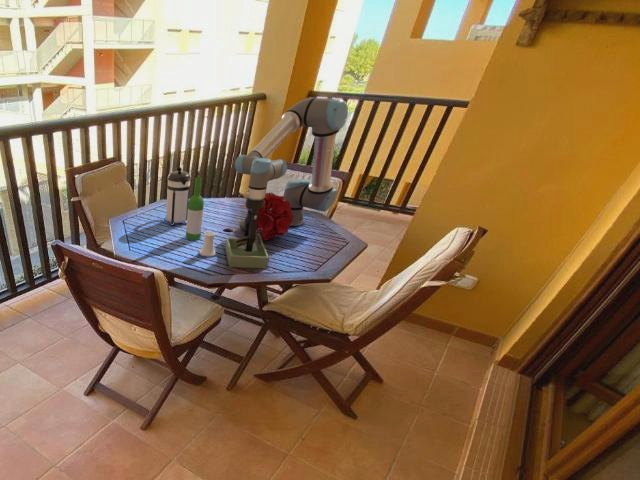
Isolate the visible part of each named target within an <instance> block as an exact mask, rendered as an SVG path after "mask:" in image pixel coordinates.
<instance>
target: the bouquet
mask: <svg viewBox="0 0 640 480" xmlns="http://www.w3.org/2000/svg"><path fill="white" fill-rule="evenodd" d="M269 193H270V192H266V195H265V198H264V205H263V208H261V209H258V210H257V212H258V216H259V218H258V222H257V229H256V231H258V229H259V230H261V231H260V236H261V238H262V242H264V241H269V240H271V239H272V238H275V237H279V236H281V237H283V236H285V235H286V233H288V232H289V228H291V227H290V225H291V223H292V220H293V218H292V217H294V215H292V212H291V207H290V203H289V201H287V200H285V201H283V200H284V199H285V197H283V196H284V195H277V194H275V195H273V194H274V193H273V194H269ZM245 207H246V206H245ZM246 209H247V210H248V208H247V207H246ZM245 222H246V217H245V218H244V219H242V220H240V221H239V224H238V226H239V228H240V230H243V231H245Z"/></svg>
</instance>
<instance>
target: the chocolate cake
mask: <svg viewBox="0 0 640 480" xmlns="http://www.w3.org/2000/svg"><path fill="white" fill-rule="evenodd" d="M247 237H248V236H246V237H244V236H243V237H237V238H238V239H236V243H237V244H238V245H237V248H240V249H243V250H244V251H245V250H246V244H247V239H248V238H247ZM262 242H263V240H262V238H261V232H256V238H255V239H254V242H253V247H252V252H254V251H257V249H258V246H260V245H261V244H262Z"/></svg>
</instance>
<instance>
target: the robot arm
mask: <svg viewBox="0 0 640 480" xmlns="http://www.w3.org/2000/svg"><path fill="white" fill-rule="evenodd" d="M348 114H349V107H348V104H347V102H346V101H345V100H344V99H340V98H337V97H336V98H335V97H333V98H328V97H327V98H325V97H308V98H304V99H302V100H300V101H298V102H296V103H295V104H293V105H292V106H291V107H289V109H287V110H286V111H285V112H284V113H283V114H282V115H281V117H280V120H279V121H278V123H276V124H275V125H274V127H273V128H272V129H271V130H269V132H268V133H267V134H266V135H265V136H264V137H263V138H262V139H261V140H260V141H259V142H258V143H257V144H256V145H255V146H254V148H252V149H251V151H249V153H247V154H240V155H238V157H237V158H236V160H235V162H234V168H235V171H236V172H237V173H240V174H243V175H248V176H249V181H248V185H247V186H248V187H247V188H248V189H246V191H245V192H246V193H247V194H246V198H245V205H244V206H245V207H247V208H248V209H247V208H246V209H247V213H246V217H245V218H246V222H245V230H244V233H243V237H246V236H248V237H247V238H248V239H247V244H246V250H245V251H246V252H252V247H253V242H254V239H255V238H256V234H257V230H258V229H257V222H258V218H259V216H258V212H257V210H258V209H261V208H263V205H264V198H265V195H266V193H267V189H268V183H269V182H270V181H273V180H278V179H280V178H282V177H284V176H285V175H286V173H287V170H288V164H287V162H286V161H285V160H284V159H281V158H279V159H278V158H276V159H270V158H269V157H270V156H271V154H273V153H274V152H275V151H276V150H277V148H278V147H279V146H280V145H281V144H282V143H283V142H284V141H285V140H286V139H287V138H288V137H289V136H290V135H291V134H293V132H296V131H298V130H299V128H302V127H305V128H311V135H312V136H313V137H314V143H313V146H314V147H313V158H312V173H311V181H310V179H308V178H295V179H290V180H288V181H287V182H286V184H285V187H284V191H283V195H282V196H283V197H285V199H284V200H283V201H285V200H287V201H289V203H290V207H291V212H292V215H294V217H292V218H293V220H292V223H291V225H290V227H289V228H291V227H293V228H294V227H300V226H303V224H304V208H307V209H310V210H315V211H317V212H318V211H319V212H326V211H329V209H330V208H332V206H333V204H334V203H335V201H336V198H337V196H338V190H337V188H334V183H333V181H332V180H331V178H332V169H333V161H334V154H335V153H334V152H335V143H336V136H337V134H338V133H339V132H340V130H341V129H343V127H344V126H345V124H346V123H347V122H346V121H347V119H348ZM268 193H269V194H273V195H276V194H275V193H273V192H271V193H270V192H268ZM256 229H257V230H256Z"/></svg>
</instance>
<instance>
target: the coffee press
mask: <svg viewBox="0 0 640 480" xmlns="http://www.w3.org/2000/svg"><path fill="white" fill-rule="evenodd" d="M182 170H183V169H182V167H181V166H178V167H177V170H175V171H172V172H170V173H168V176H167V177H166V178H167V179H166V180H167V185H166V189H167V193H166V209H165V210H166V213H165V218H164V219H163V221H164V222H169V223H170V224H173V223H174V224H173V225H170V224H169V226H170V227H174V225H175V224H181V223H184V224H185V225H186V226H187V214H188V203H189V199H190V189H191V180H192V177H191V175H190V173H189V172H187V171H184V170H183V171H182Z"/></svg>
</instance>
